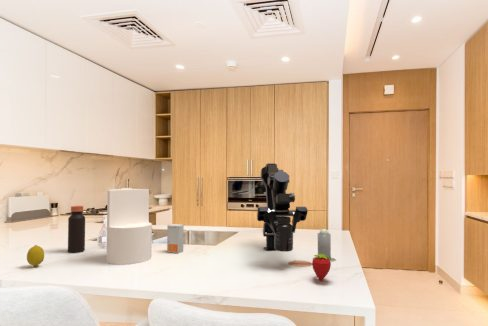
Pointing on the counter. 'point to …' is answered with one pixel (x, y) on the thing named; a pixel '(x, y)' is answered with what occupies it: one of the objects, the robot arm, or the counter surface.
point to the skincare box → (175, 238)
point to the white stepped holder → (128, 226)
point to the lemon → (35, 255)
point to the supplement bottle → (283, 234)
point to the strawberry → (321, 266)
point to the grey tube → (324, 243)
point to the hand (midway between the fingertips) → (284, 232)
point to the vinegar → (76, 230)
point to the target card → (304, 263)
